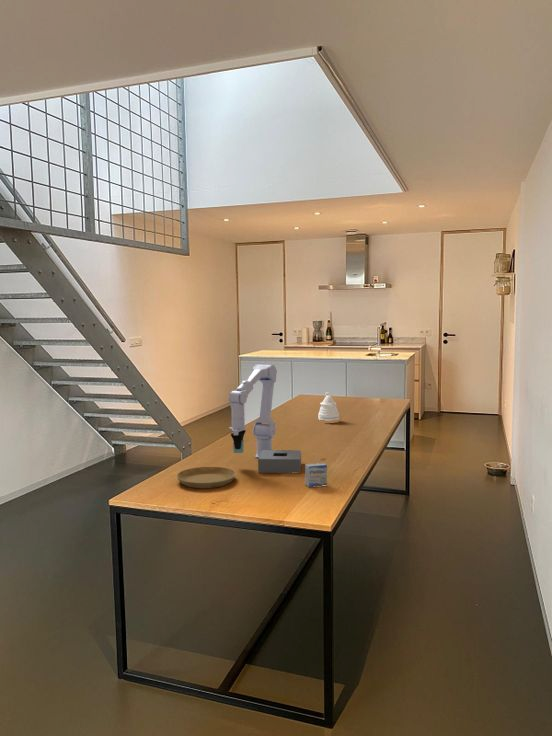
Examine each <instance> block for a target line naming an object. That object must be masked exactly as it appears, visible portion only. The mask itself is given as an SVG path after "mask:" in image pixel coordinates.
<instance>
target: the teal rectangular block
mask: <svg viewBox="0 0 552 736" xmlns="http://www.w3.org/2000/svg"><path fill="white" fill-rule="evenodd" d="M244 444H245V443H244V439H243V440H242V441H241V448H240V449H235V445H234V441H233V446H232V447H233V448H232V449H233V454H243V453H244V448H245V447H244Z"/></svg>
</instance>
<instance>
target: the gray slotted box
mask: <svg viewBox="0 0 552 736" xmlns="http://www.w3.org/2000/svg"><path fill="white" fill-rule="evenodd" d="M257 459H258V460H257V465H258V466H257V467H258V469H257V471H258V473H259V474H261V473H263V474H264V473H267V474H273V473H274V474H277V473H279V474H296V473H295V472H300V473H301V469H300V468H302V450H301V449H272V450H262V451H261V453H260V456H259V458H257ZM292 472H294V473H292Z"/></svg>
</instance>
